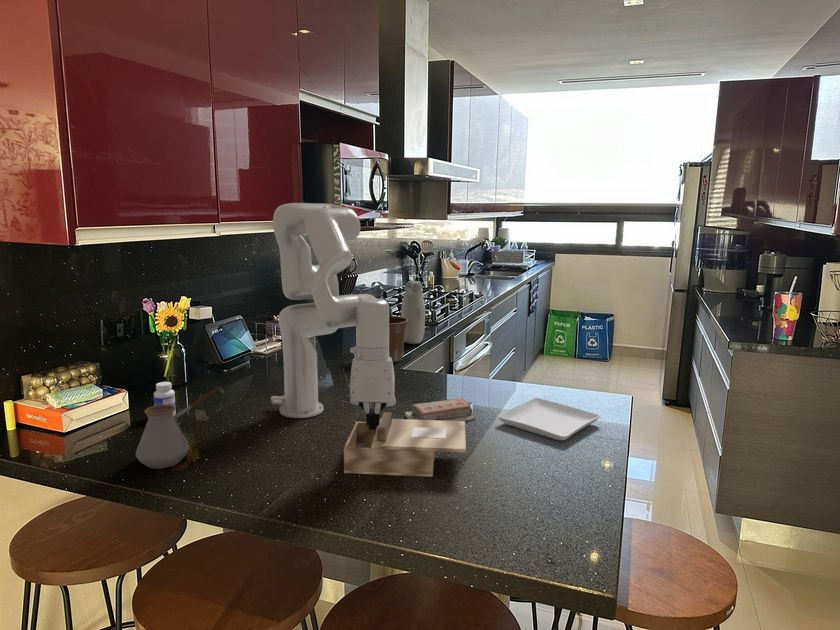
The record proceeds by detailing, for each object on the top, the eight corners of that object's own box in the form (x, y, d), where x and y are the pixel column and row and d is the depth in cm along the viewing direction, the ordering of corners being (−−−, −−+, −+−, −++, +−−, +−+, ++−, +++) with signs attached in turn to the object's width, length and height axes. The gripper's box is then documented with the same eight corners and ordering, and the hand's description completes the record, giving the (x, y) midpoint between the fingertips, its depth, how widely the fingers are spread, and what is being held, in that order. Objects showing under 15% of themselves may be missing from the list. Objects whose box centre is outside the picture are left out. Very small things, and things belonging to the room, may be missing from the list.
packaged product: (460, 394, 171) (476, 405, 162) (460, 409, 171) (475, 421, 162) (404, 401, 164) (417, 413, 155) (404, 417, 165) (417, 429, 156)
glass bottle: (396, 343, 252) (397, 280, 247) (413, 339, 259) (414, 278, 254) (411, 347, 245) (412, 282, 240) (428, 343, 252) (430, 280, 247)
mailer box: (344, 472, 129) (343, 448, 128) (356, 444, 144) (356, 421, 143) (432, 476, 128) (433, 451, 126) (435, 447, 143) (435, 424, 142)
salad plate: (564, 448, 144) (565, 435, 144) (495, 426, 158) (495, 414, 158) (601, 425, 160) (602, 414, 159) (535, 407, 174) (535, 396, 173)
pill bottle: (152, 416, 162) (149, 383, 160) (171, 411, 165) (168, 379, 164) (160, 421, 158) (157, 387, 156) (179, 416, 162) (177, 383, 160)
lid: (371, 448, 127) (371, 434, 126) (381, 421, 143) (381, 408, 143) (465, 452, 126) (466, 438, 125) (464, 424, 142) (465, 411, 141)
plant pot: (357, 359, 224) (357, 319, 221) (386, 352, 237) (386, 314, 234) (387, 367, 214) (387, 325, 211) (415, 359, 226) (416, 319, 223)
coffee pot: (149, 477, 126) (143, 412, 123) (128, 461, 133) (123, 400, 130) (237, 448, 141) (234, 390, 138) (214, 435, 149) (211, 380, 146)
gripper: (337, 355, 128) (338, 432, 132) (403, 357, 127) (402, 435, 131) (344, 347, 136) (345, 421, 139) (406, 349, 135) (406, 423, 138)
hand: (373, 427), depth 135 cm, fingers closed
